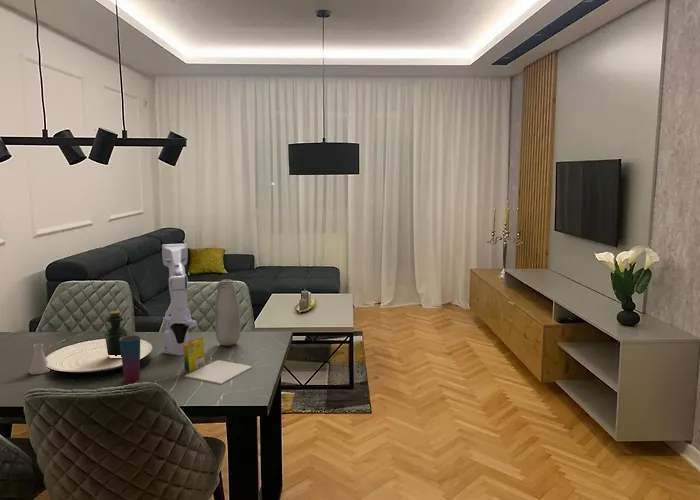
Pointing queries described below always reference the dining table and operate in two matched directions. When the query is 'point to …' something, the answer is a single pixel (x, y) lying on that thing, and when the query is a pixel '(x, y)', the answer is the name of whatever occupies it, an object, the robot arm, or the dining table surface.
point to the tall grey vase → (227, 313)
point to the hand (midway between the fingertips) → (180, 342)
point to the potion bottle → (114, 333)
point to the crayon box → (194, 355)
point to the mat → (218, 372)
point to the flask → (38, 361)
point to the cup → (130, 357)
